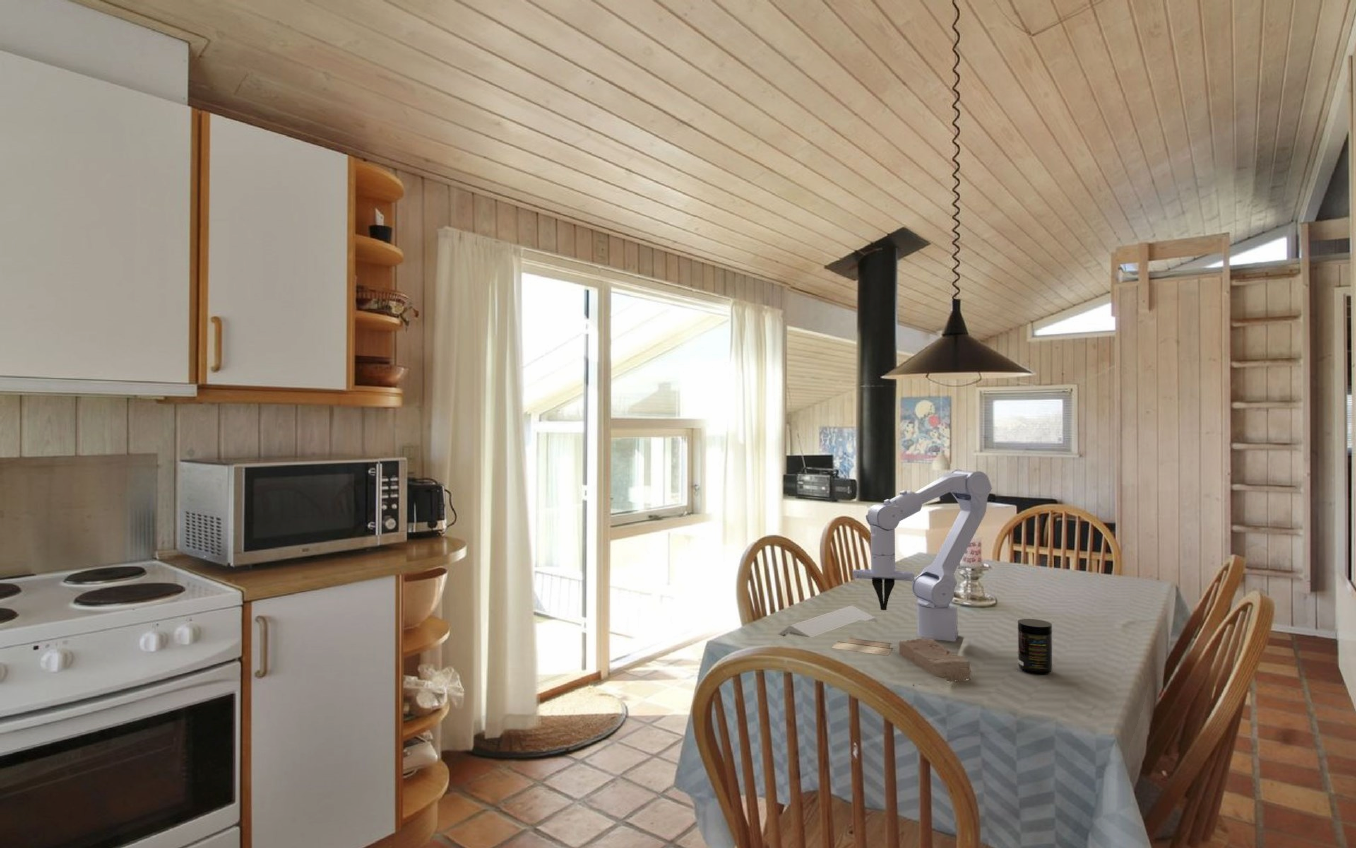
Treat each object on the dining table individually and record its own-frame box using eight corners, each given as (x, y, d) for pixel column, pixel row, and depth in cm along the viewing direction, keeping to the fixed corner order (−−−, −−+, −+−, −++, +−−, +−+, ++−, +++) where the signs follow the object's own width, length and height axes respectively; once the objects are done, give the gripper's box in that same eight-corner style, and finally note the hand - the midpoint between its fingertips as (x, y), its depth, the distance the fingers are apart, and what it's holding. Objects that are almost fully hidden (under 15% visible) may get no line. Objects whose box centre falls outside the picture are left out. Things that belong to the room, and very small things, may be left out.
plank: (894, 645, 177) (894, 639, 177) (888, 652, 170) (888, 647, 170) (853, 639, 181) (853, 634, 181) (846, 647, 175) (846, 641, 175)
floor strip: (892, 653, 170) (892, 647, 170) (887, 660, 164) (887, 654, 164) (838, 646, 175) (837, 640, 175) (831, 653, 170) (831, 647, 170)
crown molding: (817, 646, 178) (817, 631, 178) (777, 636, 186) (777, 622, 186) (877, 623, 198) (877, 610, 198) (838, 615, 207) (838, 603, 207)
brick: (973, 681, 151) (972, 659, 152) (936, 684, 150) (936, 661, 150) (930, 657, 168) (930, 637, 168) (897, 660, 166) (897, 639, 166)
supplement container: (1059, 675, 154) (1058, 626, 154) (1029, 676, 153) (1028, 627, 154) (1040, 665, 161) (1040, 618, 161) (1011, 666, 160) (1011, 619, 160)
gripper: (913, 552, 179) (914, 607, 179) (853, 550, 183) (854, 603, 183) (914, 557, 172) (915, 614, 172) (852, 554, 176) (852, 610, 176)
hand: (883, 609), depth 177 cm, fingers closed
